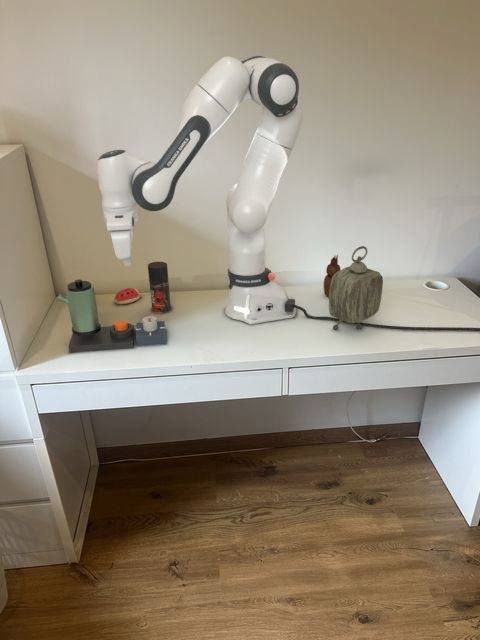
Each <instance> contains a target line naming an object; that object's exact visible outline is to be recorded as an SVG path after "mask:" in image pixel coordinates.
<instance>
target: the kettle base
mask: <svg viewBox="0 0 480 640" xmlns="http://www.w3.org/2000/svg"><path fill="white" fill-rule="evenodd" d="M127 323H128V329H127V330H124V331H116V330H115V325H114V324H112V325H111V326H108V325H107V326H101V330H100V331H99V332H98V333H96V334H94V335H90V336H77V335H74V334H73V333H72V334H71V337H70V340H69V344H68V350H69V351H68V352H69V353H70V354H75V353H87V352H88V353H89V352H100V351H103V352H104V351H114V350H115V351H117V350H128V349H129V350H130V349H134V342H135V324H131V322H127Z"/></svg>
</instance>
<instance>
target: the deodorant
mask: <svg viewBox="0 0 480 640" xmlns="http://www.w3.org/2000/svg"><path fill="white" fill-rule="evenodd" d="M147 273H148V282H149V283H148V284H149V292H150V293H149V294H150V302H151V311H152V313H156V314H165V313H168V312H170V311H171V310H172V307H171V305H172V304H171V293H170V282H169V272H168V263H167V262H165V261H153V262H149V263H148V264H147Z"/></svg>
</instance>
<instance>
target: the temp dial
mask: <svg viewBox="0 0 480 640" xmlns="http://www.w3.org/2000/svg"><path fill="white" fill-rule="evenodd" d="M141 320H142V321H141V323H143V330H144V331H147V332H152V331H155V330H157V328H158V327H157V322H158V319H157V317H156V316H153V315H149V316H145V317H143V318H142V319H141Z"/></svg>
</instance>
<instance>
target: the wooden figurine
mask: <svg viewBox="0 0 480 640" xmlns="http://www.w3.org/2000/svg"><path fill="white" fill-rule="evenodd" d="M338 262H339V255H338V254H337V255H334V256H333V257H332V258H331V259H330V263H328V264H327V266H326V271H325V273H326V275H325V276H324V278H323V291H324V292H323V293H324V296H326V297H327V298H329V292H330V285H331V280H332V277H333V275H334V274H335V273H337V272H338V271H340V270H341V265H340V264H338Z"/></svg>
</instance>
